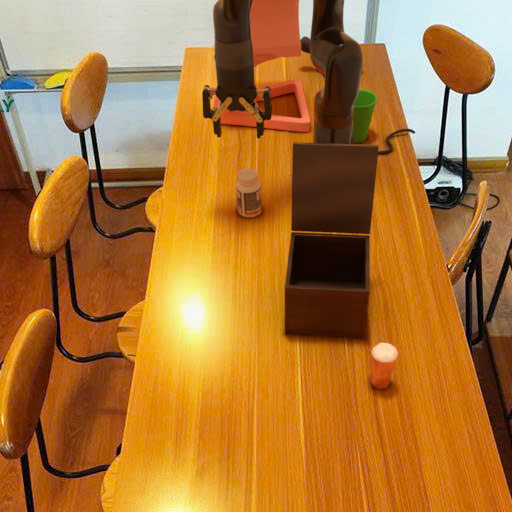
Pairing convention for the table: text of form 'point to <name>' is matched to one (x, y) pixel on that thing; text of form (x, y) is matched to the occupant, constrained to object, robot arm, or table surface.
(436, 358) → the table surface
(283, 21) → the chair
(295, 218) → the lid
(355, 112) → the cup
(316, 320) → the chest
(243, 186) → the pill bottle
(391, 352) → the milkshake
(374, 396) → the table surface
